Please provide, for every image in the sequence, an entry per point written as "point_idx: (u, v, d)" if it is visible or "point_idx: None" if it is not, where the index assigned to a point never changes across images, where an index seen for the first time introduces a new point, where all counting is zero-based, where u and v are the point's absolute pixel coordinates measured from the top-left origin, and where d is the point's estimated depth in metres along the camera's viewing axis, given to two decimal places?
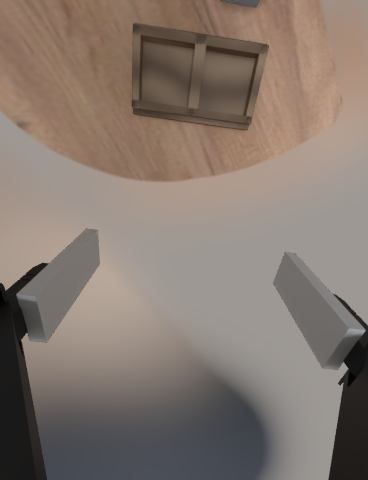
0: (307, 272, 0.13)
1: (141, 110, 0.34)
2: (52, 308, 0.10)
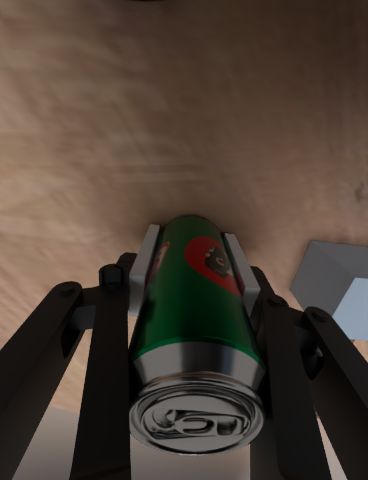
0: (235, 248, 0.14)
1: None
2: None
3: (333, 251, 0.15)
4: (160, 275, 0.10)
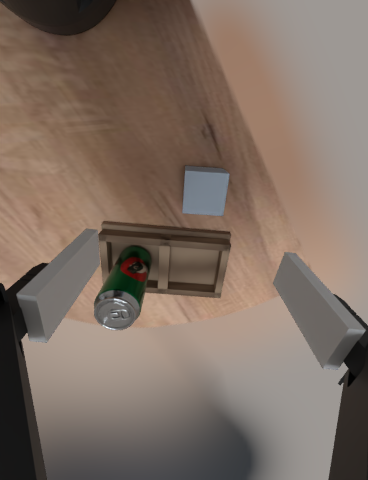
0: (307, 272, 0.13)
1: None
2: (52, 308, 0.10)
3: (191, 167, 0.27)
4: (110, 274, 0.26)
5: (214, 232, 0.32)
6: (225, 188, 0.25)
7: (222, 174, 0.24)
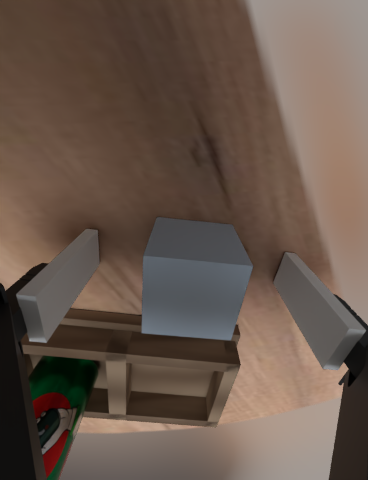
0: (307, 272, 0.13)
1: None
2: (52, 308, 0.10)
3: (167, 228, 0.12)
4: None
5: None
6: (240, 293, 0.10)
7: (235, 267, 0.10)
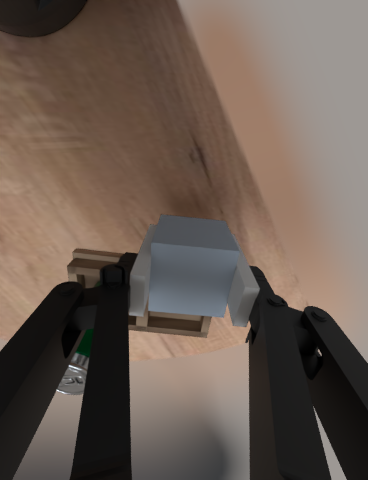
0: None
1: None
2: (146, 288, 0.12)
3: (169, 223, 0.15)
4: None
5: None
6: (230, 275, 0.13)
7: (225, 252, 0.12)
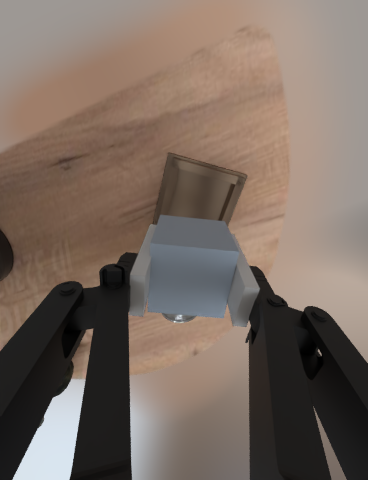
0: None
1: None
2: (146, 288, 0.12)
3: (169, 223, 0.15)
4: None
5: (164, 171, 0.29)
6: (229, 275, 0.13)
7: (225, 252, 0.12)
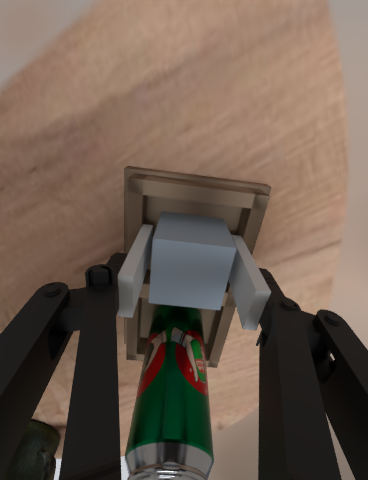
0: (243, 250, 0.14)
1: None
2: (136, 289, 0.12)
3: (170, 219, 0.15)
4: None
5: None
6: (227, 270, 0.13)
7: (223, 248, 0.13)
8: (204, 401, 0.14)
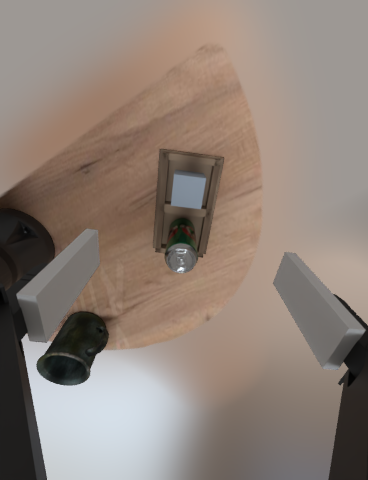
0: (307, 272, 0.13)
1: (203, 248, 0.44)
2: (52, 308, 0.10)
3: (179, 171, 0.36)
4: None
5: None
6: (203, 188, 0.34)
7: (200, 178, 0.33)
8: (194, 242, 0.34)
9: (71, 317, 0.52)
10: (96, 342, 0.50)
